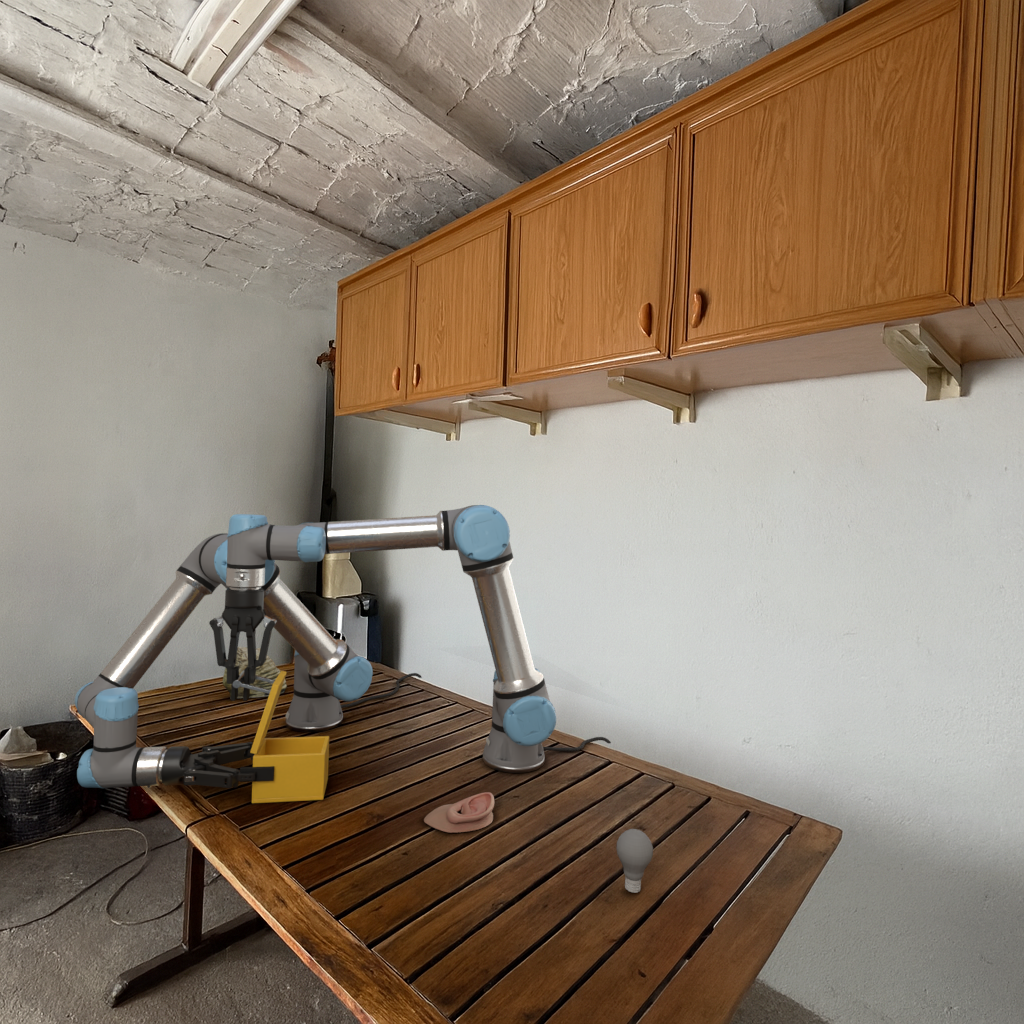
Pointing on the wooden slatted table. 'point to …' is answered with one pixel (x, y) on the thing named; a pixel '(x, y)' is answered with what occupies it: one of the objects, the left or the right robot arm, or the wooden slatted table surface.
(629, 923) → the wooden slatted table surface
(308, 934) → the wooden slatted table surface
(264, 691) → the lid
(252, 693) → the fossil
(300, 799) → the chest
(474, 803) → the anatomical model
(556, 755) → the wooden slatted table surface
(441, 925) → the wooden slatted table surface
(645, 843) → the light bulb
